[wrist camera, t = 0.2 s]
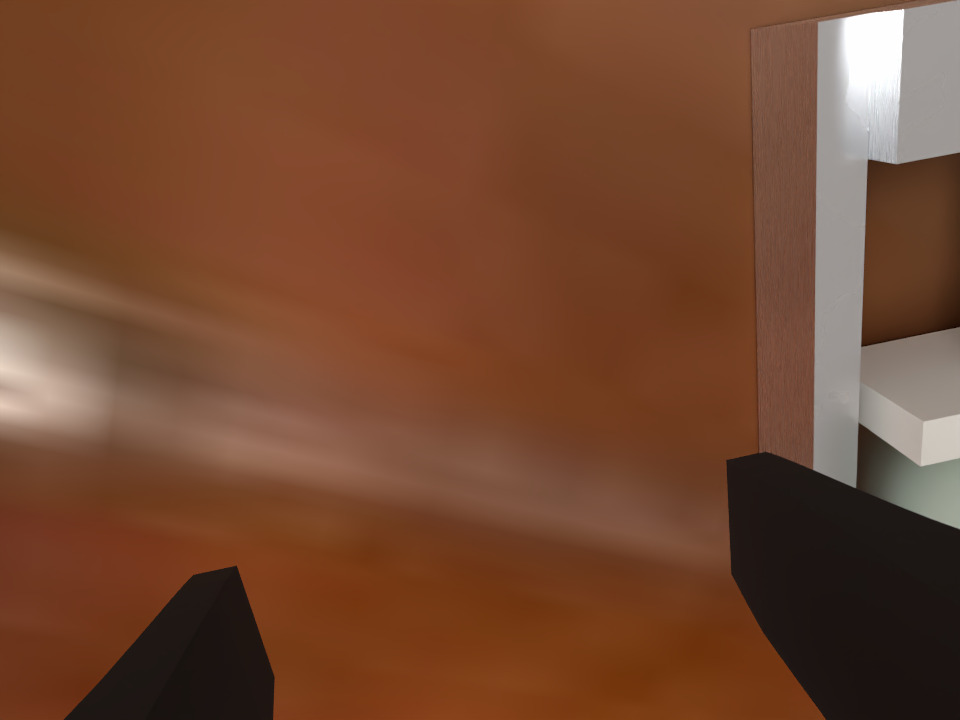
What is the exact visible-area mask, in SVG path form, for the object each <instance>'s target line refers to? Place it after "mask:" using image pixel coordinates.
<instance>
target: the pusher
mask: <svg viewBox="0 0 960 720" xmlns="http://www.w3.org/2000/svg"><path fill="white" fill-rule="evenodd" d="M858 422H859V423H861V424H862V425H863V426H865V427H866V428H867V429H869V430H870V431H872V432H873V433H874V434H876V435H877V436H879V437H880V438H881V439H883V440H884V441H886V442H887V443H888V444H890V445H891V446H893V447H894V448H895V449H897V450H898V451H899V452H901V453H902V454H904V455H905V456H906V457H908V458H909V459H911V460H912V461H913V462H915V463H916V464H918V465H919V466H920V467H921V466H925V465H930V464H935V463H939V462H944V461H949V460H953V459H958V458H960V327H958V328H953V329H948V330H943V331H938V332H933V333H928V334H923V335H918V336H913V337H908V338H903V339H899V340H894V341H889V342H884V343H879V344H874V345H869V346H864V347H861V363H860V392H859V421H858Z"/></svg>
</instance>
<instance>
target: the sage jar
mask: <svg viewBox="0 0 960 720" xmlns="http://www.w3.org/2000/svg"><path fill="white" fill-rule="evenodd" d="M856 488H857V489H859V490H861V491H864V492H866V493H868V494H871V495H873V496H876V497H878V498H880V499H883V500H885V501H888V502H890V503H892V504H895V505H897V506H900V507H902V508H905V509H907V510H910V511H912V512H915V513H918V514H920V515H923V516H925V517H928V518H930V519H933V520H936V521H939V522H941V523H944V524H947V525H950V526H952V527H955V528H958V529H960V458H958V459H953V460H949V461H944V462H939V463H935V464H930V465H925V466H921V467H920V466H919V465H918V464H916V463H915V462H913V461H912V460H911V459H909V458H908V457H906V456H905V455H904V454H902V453H901V452H899V451H898V450H897V449H895V448H894V447H893V446H891V445H890V444H888V443H887V442H886V441H884V440H883V439H881V438H880V437H879V436H877V435H876V434H874V433H873V432H872V431H870V430H869V429H867V428H866V427H865V426H863V425H862V424H861V423H859V424H858V450H857V478H856Z"/></svg>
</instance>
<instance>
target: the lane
mask: <svg viewBox="0 0 960 720" xmlns="http://www.w3.org/2000/svg"><path fill="white" fill-rule="evenodd" d="M751 71H752V121H753V170H754V219H755V268H756V318H757V367H758V416H759V453H762V452H769V453H772V454H775V455H777V456H780V457H783V458H785V459H788V460H790V461H793V462H795V463H798V464H800V465H803V466H805V467H807V468H810V469H812V470H815V471H817V472H819V473H822V474H824V475H826V476H829V477H831V478H833V479H835V480H838V481H840V482H842V483H845V484H847V485H849V486H852V487H854V488H856V478H857V450H858V421H859V392H860V363H861V334H862V306H863V277H864V248H865V219H866V191H867V162H868V159H870V160H876V161H881V162H887V163H893V164H900V163H906V162H911V161H916V160H922V159H927V158H932V157H938V156H943V155H949V154H954V153H959V152H960V0H922V1H914V2H908V3H902V4H896V5H890V6H884V7H878V8H872V9H866V10H861V11H855V12H849V13H843V14H837V15H831V16H825V17H820V18H814V19H808V20H802V21H796V22H790V23H784V24H778V25H773V26H767V27H761V28H755V29H751Z"/></svg>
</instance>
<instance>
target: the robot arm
mask: <svg viewBox="0 0 960 720" xmlns="http://www.w3.org/2000/svg"><path fill="white" fill-rule="evenodd" d="M726 461H727V484H728V506H729V528H730V551H731V573H732V576H733V578H734V579H735V581H736V583H737V585H738V587H739V589H740V591H741V593H742V595H743V596H744V598H745V600H746V602H747V604H748V606H749V608H750V610H751V611H752V613H753V615H754V617H755V618H756V620H757V622H758V624H759V626H760V627H761V629H762V631H763V633H764V634H765V635H766V637H767V638H768V640H769V641H770V643H771V644H772V645H773V647H774V648H775V650H776V651H777V652H778V654H779V655H780V657H781V658H782V659H783V661H784V662H785V664H786V665H787V666H788V668H789V669H790V670H791V672H792V673H793V675H794V676H795V677H796V679H797V680H798V682H799V683H800V684H801V686H802V687H803V688H804V690H805V691H806V692H807V694H808V695H809V697H810V698H811V699H812V701H813V702H814V703H815V705H816V706H817V707H818V709H819V710H820V712H821V713H822V714H823V716H824V717H825V718H826V720H960V529H958V528H955V527H952V526H950V525H947V524H944V523H941V522H939V521H936V520H933V519H930V518H928V517H925V516H923V515H920V514H918V513H915V512H912V511H910V510H907V509H905V508H902V507H900V506H897V505H895V504H892V503H890V502H888V501H885V500H883V499H880V498H878V497H876V496H873V495H871V494H868V493H866V492H864V491H861V490H859V489H857V488H854V487H852V486H849V485H847V484H845V483H842V482H840V481H838V480H835V479H833V478H831V477H829V476H826V475H824V474H822V473H819V472H817V471H815V470H812V469H810V468H807V467H805V466H803V465H800V464H798V463H795V462H793V461H790V460H788V459H785V458H783V457H780V456H777V455H775V454H772V453H769V452H762V453H757V454H753V455H748V456H744V457H739V458H734V459H730V460H726ZM273 705H274V674H273V671H272V668H271V666H270V663H269V660H268V657H267V654H266V651H265V648H264V645H263V642H262V639H261V636H260V633H259V630H258V627H257V624H256V621H255V618H254V615H253V612H252V609H251V607H250V604H249V601H248V598H247V595H246V592H245V589H244V586H243V583H242V580H241V577H240V574H239V571H238V568H237V566H233V567H229V568H224V569H219V570H215V571H210V572H205V573H201V574H196V575H193V576H192V577H191V578H190V579H189V580H188V581H187V582H186V583H185V584H184V585H183V587H182V588H181V589H180V590H179V591H178V592H177V593H176V594H175V596H174V597H173V598H172V599H171V600H170V601H169V602H168V604H167V605H166V606H165V607H164V608H163V609H162V611H161V612H160V613H159V614H158V615H157V616H156V618H155V619H154V620H153V621H152V622H151V624H150V625H149V626H148V627H147V628H146V629H145V631H144V632H143V633H142V634H141V635H140V636H139V638H138V639H137V640H136V641H135V642H134V643H133V644H132V645H131V647H130V648H129V649H128V650H127V651H126V652H125V653H124V655H123V656H122V657H121V658H120V659H119V660H118V661H117V663H116V664H115V665H114V666H113V667H112V668H111V669H110V671H109V672H108V673H107V674H106V675H105V676H104V677H103V679H102V680H101V681H100V682H99V683H98V684H97V685H96V686H95V687H94V688H93V689H92V690H91V692H90V693H89V694H88V695H87V696H86V697H85V698H84V699H83V700H82V701H81V702H80V703H79V704H78V705H77V706H76V707H75V708H74V709H73V710H72V712H71V713H70V714H69V715H68V716H67V717H66V718H65V719H64V720H273Z"/></svg>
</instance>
